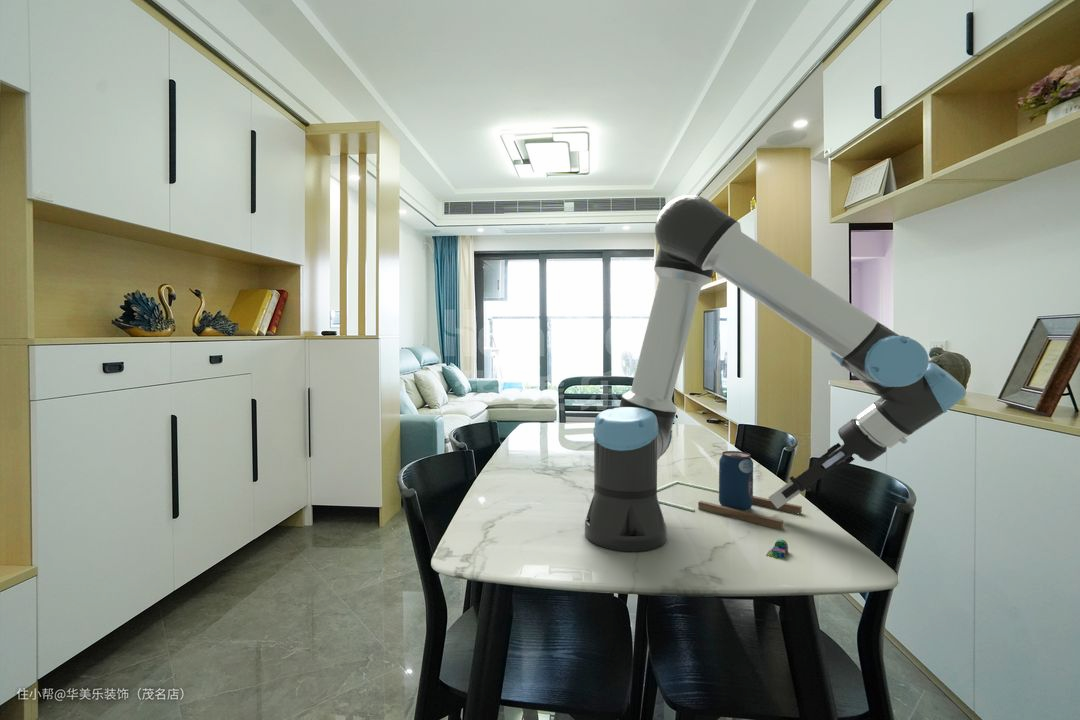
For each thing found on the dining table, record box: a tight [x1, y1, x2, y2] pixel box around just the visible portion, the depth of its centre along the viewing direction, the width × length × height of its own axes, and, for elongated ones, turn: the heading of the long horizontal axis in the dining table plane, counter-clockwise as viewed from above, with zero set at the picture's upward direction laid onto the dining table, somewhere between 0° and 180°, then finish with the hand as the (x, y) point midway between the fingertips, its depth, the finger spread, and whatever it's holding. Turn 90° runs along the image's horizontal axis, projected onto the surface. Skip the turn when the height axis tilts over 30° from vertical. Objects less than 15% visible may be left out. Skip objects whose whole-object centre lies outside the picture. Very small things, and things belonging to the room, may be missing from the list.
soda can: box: [718, 450, 754, 512], centre depth 105 cm, size 7×7×12 cm
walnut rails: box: [697, 495, 803, 530], centre depth 103 cm, size 13×17×2 cm
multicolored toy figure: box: [765, 538, 789, 559], centre depth 82 cm, size 4×3×2 cm, turn 142°
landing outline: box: [657, 480, 719, 512], centre depth 114 cm, size 18×14×1 cm
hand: (774, 502), depth 100 cm, fingers closed
